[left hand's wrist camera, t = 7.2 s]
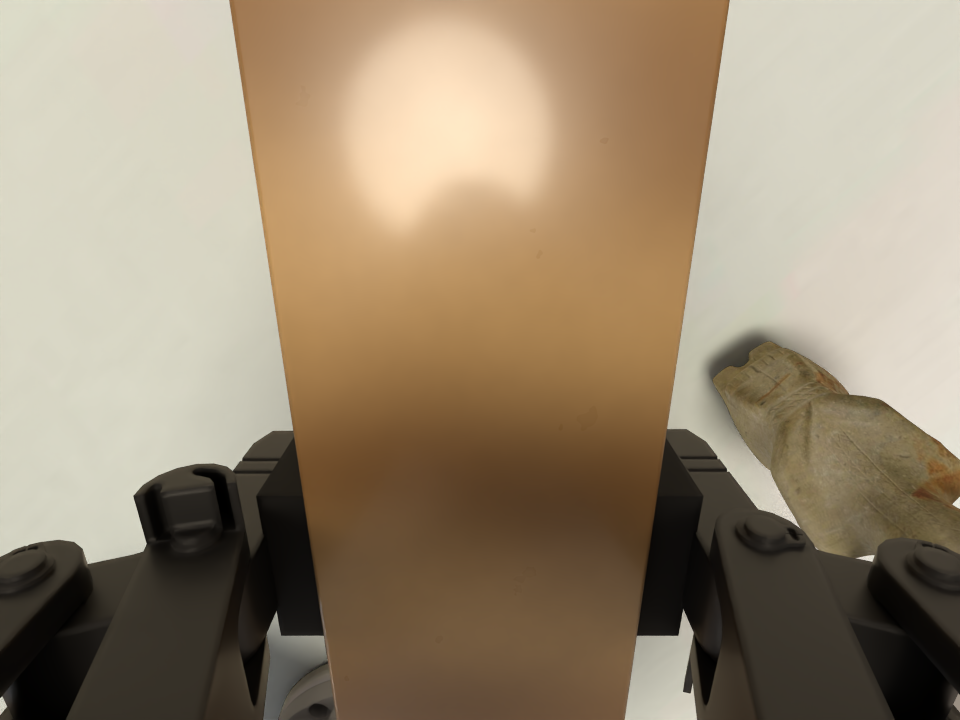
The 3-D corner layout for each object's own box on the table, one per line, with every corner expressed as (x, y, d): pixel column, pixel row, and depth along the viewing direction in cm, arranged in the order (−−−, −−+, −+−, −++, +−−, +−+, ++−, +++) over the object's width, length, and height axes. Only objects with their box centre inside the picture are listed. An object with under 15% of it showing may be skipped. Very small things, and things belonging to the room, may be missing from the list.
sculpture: (745, 467, 30) (965, 745, 16) (680, 373, 28) (869, 601, 14) (844, 411, 29) (1176, 662, 15) (784, 308, 27) (1105, 489, 13)
